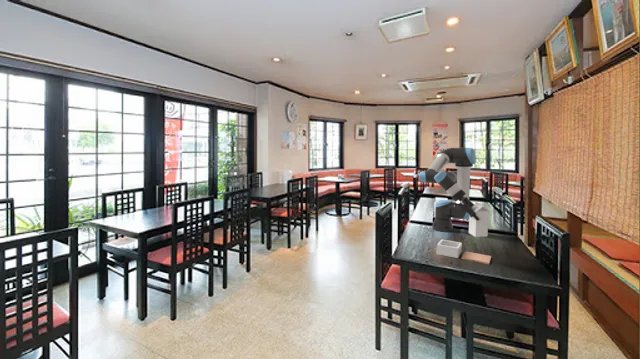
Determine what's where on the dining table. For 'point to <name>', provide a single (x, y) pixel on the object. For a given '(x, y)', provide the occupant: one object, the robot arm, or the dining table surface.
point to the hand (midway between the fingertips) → (484, 222)
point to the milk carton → (474, 226)
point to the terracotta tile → (476, 257)
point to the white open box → (449, 248)
